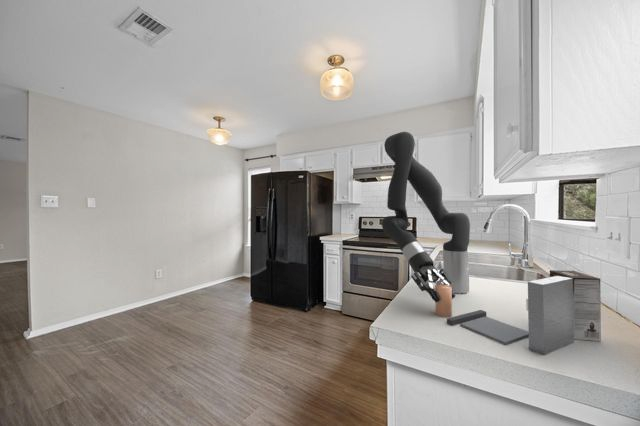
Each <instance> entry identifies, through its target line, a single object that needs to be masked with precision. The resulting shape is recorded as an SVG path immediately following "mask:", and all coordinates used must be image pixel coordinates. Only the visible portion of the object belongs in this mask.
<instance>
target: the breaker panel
mask: <svg viewBox="0 0 640 426" xmlns="http://www.w3.org/2000/svg"><path fill="white" fill-rule="evenodd" d="M525 302H526V303H525V306H526V307H525V308H526V309H525V310H526V311H527V312H528V314H527V315H528V317H527V318H528V332H529V336H528V349H529V350H531V351H533V352H535V353H537V354H540V355H543V356H545V355H548V354H550V353H553V352H555V351H558V350H560V349H561V348H564V347H566V346H569V345H570V344H571V345H572V344H573V343H574V342H575V339H574V317H573V278H568V277H562V276H554V277H550V276H549V277H544V278H540V279H534V280H529V281H527V297H526V298H525Z"/></svg>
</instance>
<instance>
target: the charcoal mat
mask: <svg viewBox="0 0 640 426" xmlns="http://www.w3.org/2000/svg"><path fill="white" fill-rule="evenodd" d="M459 325H460V327H463V329H464V328H465V329H467V330H469V331H472V332H474V333H477V334H479V335H481V336H483V337H486V338H488V339H490V340H493V341H496V342H498V343H500V344H503V345H504V346H505V345H509V344H512V343H515V342H517V341H520V340H522V339H526V338H529V330H525V329H523V328H519V327H517V326H514V325H511V324H509V323H506V322H504V321H503V322H502V321H500V320H496V319H494V318H493V317H492V318H491V317H488V316H486V317H482V318H479V319H475V320H471V321H468V322H464V323H461V324H459Z"/></svg>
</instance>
